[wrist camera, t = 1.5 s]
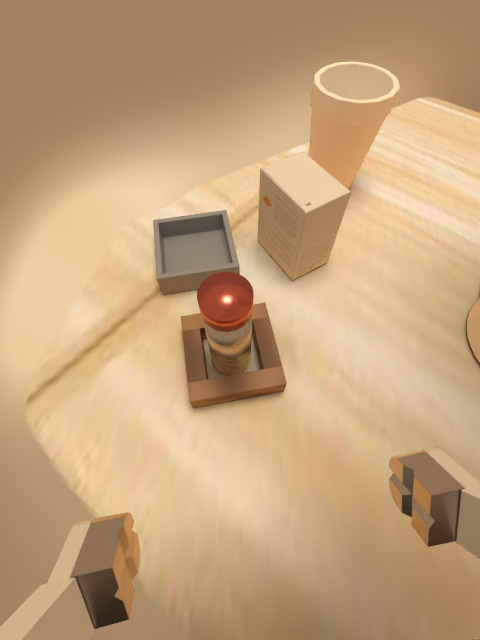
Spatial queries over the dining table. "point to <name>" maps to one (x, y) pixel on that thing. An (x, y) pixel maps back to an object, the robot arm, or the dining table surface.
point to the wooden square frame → (238, 384)
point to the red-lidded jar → (227, 320)
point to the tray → (193, 250)
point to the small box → (299, 213)
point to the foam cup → (348, 115)
